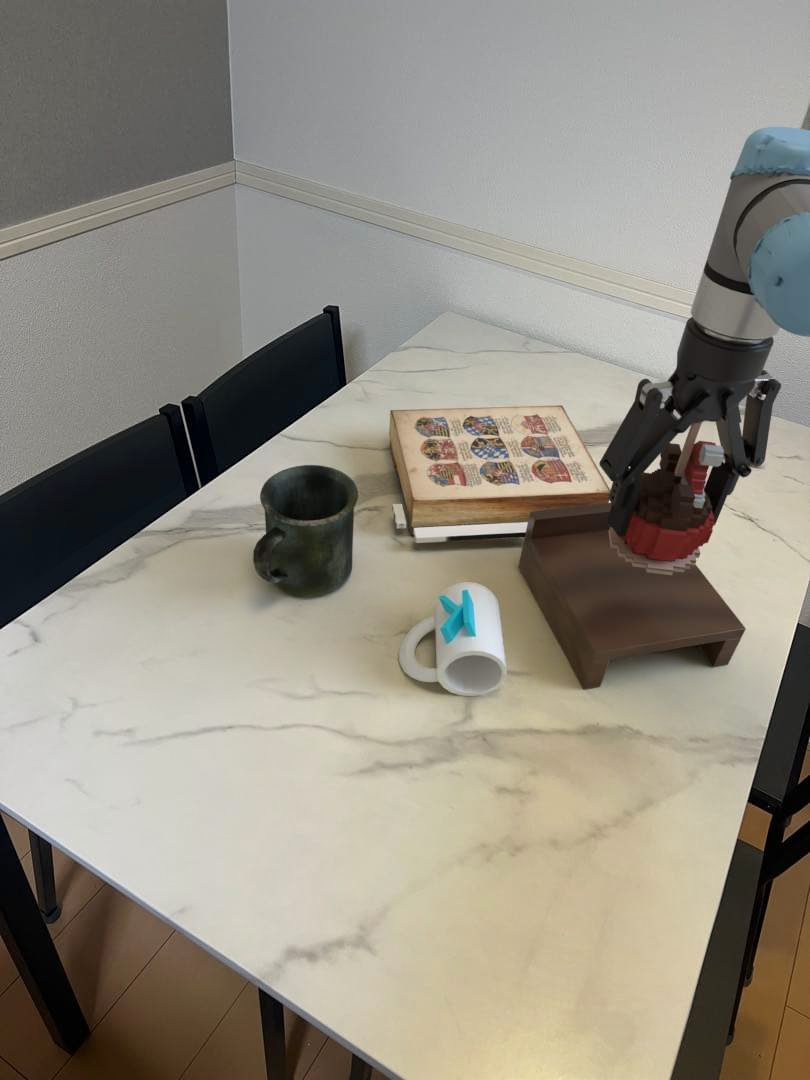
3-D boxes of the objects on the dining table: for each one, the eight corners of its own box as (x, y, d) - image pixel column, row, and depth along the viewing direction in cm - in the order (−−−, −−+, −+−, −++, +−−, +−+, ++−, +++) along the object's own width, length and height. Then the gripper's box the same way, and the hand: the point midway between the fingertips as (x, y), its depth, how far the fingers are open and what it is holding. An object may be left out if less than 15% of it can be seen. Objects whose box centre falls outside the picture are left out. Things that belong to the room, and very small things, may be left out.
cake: (603, 514, 91) (646, 372, 79) (685, 524, 91) (740, 383, 79) (613, 577, 83) (661, 429, 71) (703, 588, 82) (767, 441, 71)
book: (399, 555, 102) (608, 543, 106) (401, 516, 97) (619, 505, 102) (375, 447, 120) (554, 441, 124) (377, 410, 116) (562, 405, 120)
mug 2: (482, 550, 87) (491, 631, 78) (504, 606, 93) (514, 688, 84) (382, 576, 90) (378, 657, 81) (409, 629, 96) (408, 710, 86)
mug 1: (373, 564, 99) (377, 487, 92) (297, 633, 90) (295, 553, 82) (305, 529, 104) (304, 453, 96) (226, 591, 94) (217, 511, 86)
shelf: (728, 664, 91) (756, 609, 85) (583, 689, 86) (602, 632, 81) (645, 550, 105) (664, 496, 99) (517, 567, 101) (530, 511, 95)
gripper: (813, 302, 75) (734, 491, 90) (596, 313, 70) (549, 512, 84) (866, 338, 70) (773, 533, 84) (636, 353, 65) (578, 558, 79)
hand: (661, 522), depth 84 cm, fingers closed on cake, 10 cm apart
